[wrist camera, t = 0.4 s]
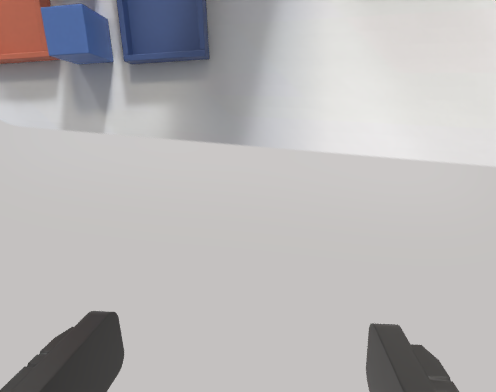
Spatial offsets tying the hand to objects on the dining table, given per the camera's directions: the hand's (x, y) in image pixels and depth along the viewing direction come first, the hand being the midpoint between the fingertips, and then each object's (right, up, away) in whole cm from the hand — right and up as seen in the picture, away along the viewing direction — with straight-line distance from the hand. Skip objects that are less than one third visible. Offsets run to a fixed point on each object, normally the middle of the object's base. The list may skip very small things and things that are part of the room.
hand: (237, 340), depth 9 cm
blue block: (-18, +22, +25) cm, 38 cm away
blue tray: (-9, +26, +23) cm, 36 cm away
